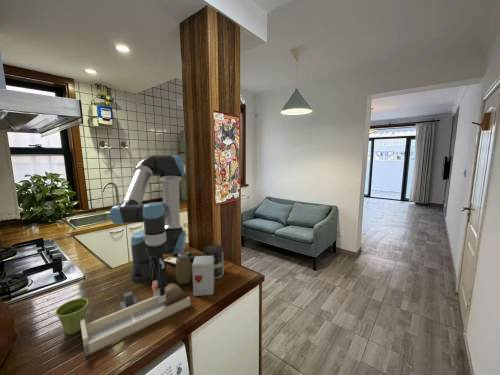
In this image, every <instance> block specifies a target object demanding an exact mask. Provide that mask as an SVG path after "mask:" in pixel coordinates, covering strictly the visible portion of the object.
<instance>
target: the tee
mask: <svg viewBox="0 0 500 375" xmlns="http://www.w3.org/2000/svg"><path fill="white" fill-rule="evenodd" d="M122 295H123V301H122V302H119V307H120V310H122V309H125V308H127V307H129V306H132V305H134V304H137V303H139V302H138V300H137V298H136V297H135V296H134V294H133V291H132V290H129V291H126V292H124V293H122Z"/></svg>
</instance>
